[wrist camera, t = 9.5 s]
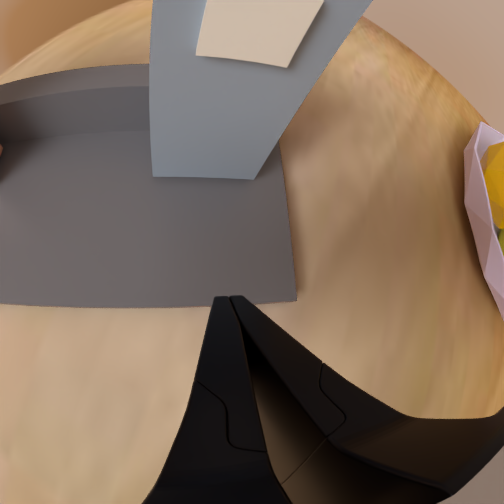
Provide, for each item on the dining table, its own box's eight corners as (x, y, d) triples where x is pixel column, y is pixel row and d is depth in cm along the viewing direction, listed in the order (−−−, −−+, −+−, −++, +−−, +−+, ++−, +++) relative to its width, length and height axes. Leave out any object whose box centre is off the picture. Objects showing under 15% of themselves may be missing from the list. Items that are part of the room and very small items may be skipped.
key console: (291, 301, 17) (334, 292, 13) (-76, 295, 10) (-115, 285, 5) (271, 123, 20) (296, 79, 16) (-45, 142, 13) (-69, 111, 8)
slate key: (254, 185, 17) (381, 0, 5) (152, 182, 15) (157, -51, 3) (250, 139, 18) (345, -36, 6) (156, 135, 16) (176, -71, 4)
